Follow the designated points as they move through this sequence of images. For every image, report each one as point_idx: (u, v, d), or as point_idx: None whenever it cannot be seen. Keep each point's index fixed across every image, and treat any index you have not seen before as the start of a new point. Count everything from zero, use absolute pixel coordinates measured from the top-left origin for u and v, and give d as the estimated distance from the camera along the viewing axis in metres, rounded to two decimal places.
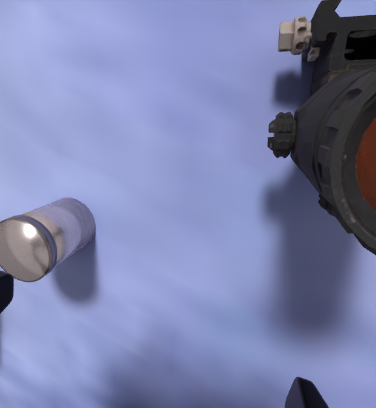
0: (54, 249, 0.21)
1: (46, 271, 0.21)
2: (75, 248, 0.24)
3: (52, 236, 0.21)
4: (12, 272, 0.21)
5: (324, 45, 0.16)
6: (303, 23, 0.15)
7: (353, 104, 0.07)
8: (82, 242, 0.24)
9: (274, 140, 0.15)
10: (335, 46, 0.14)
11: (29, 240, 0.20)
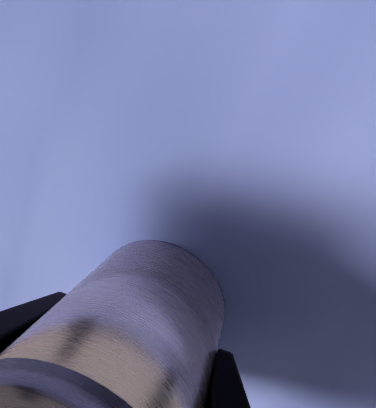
0: (28, 371, 0.05)
1: None
2: (158, 298, 0.07)
3: None
4: None
5: None
6: None
7: None
8: (165, 277, 0.08)
9: None
10: None
11: None
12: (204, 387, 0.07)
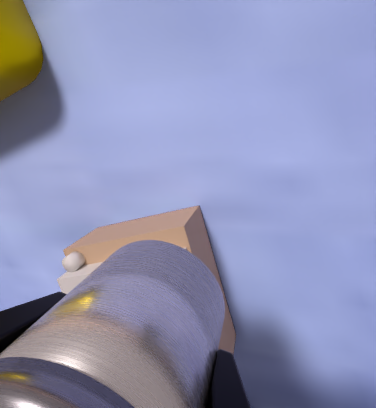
0: (30, 371, 0.05)
1: None
2: (159, 298, 0.07)
3: None
4: None
5: None
6: None
7: None
8: (166, 277, 0.08)
9: None
10: None
11: None
12: (205, 387, 0.07)
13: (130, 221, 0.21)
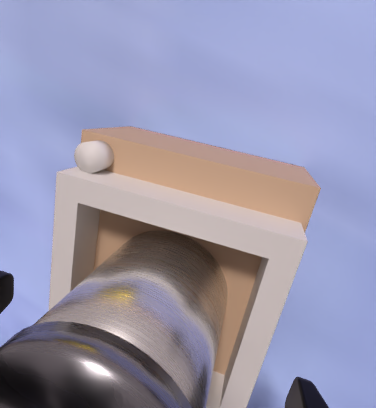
0: (67, 331, 0.05)
1: (127, 392, 0.05)
2: (170, 278, 0.08)
3: (34, 324, 0.06)
4: None
5: None
6: None
7: None
8: (175, 261, 0.09)
9: None
10: None
11: None
12: (211, 355, 0.07)
13: (189, 141, 0.13)
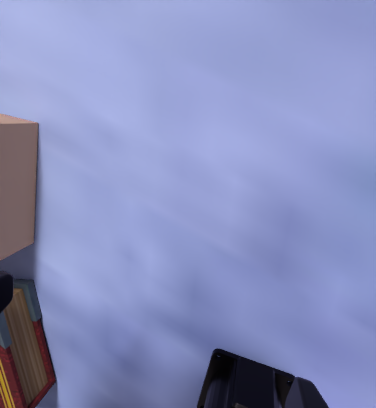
0: None
1: None
2: None
3: None
4: None
5: None
6: None
7: None
8: None
9: None
10: None
11: None
12: None
13: None
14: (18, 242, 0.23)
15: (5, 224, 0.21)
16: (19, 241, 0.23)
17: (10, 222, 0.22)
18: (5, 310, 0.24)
